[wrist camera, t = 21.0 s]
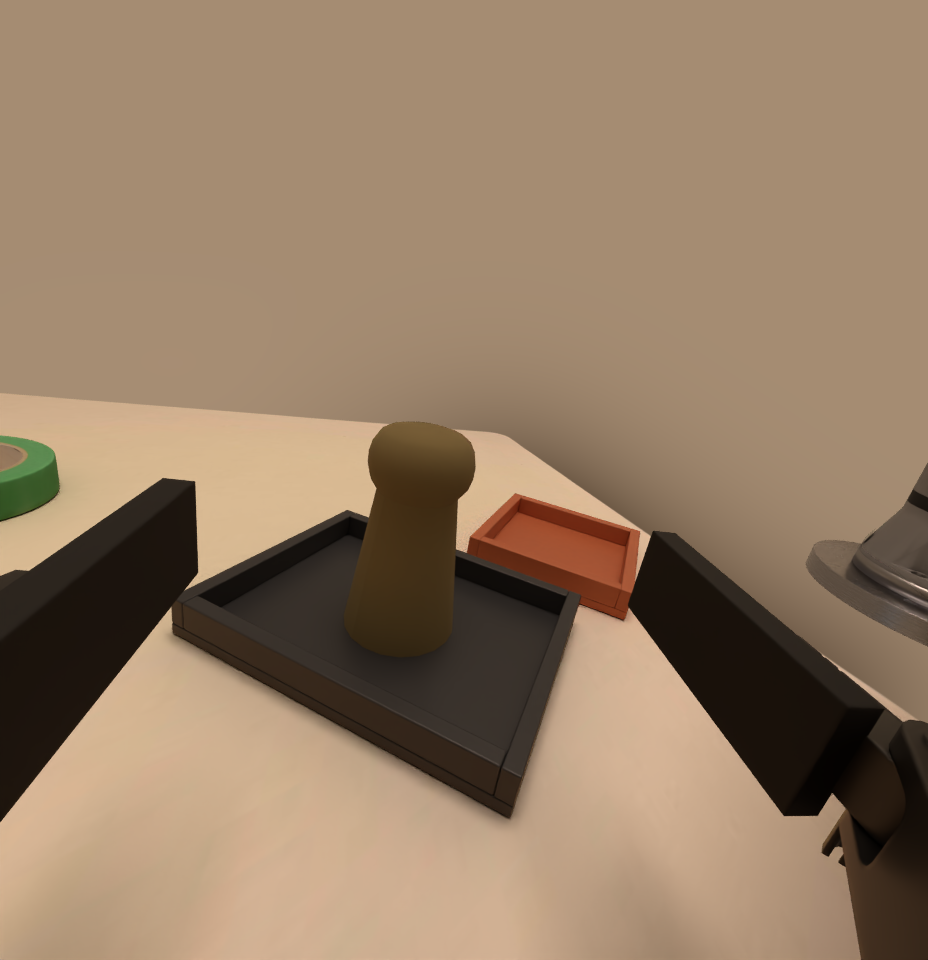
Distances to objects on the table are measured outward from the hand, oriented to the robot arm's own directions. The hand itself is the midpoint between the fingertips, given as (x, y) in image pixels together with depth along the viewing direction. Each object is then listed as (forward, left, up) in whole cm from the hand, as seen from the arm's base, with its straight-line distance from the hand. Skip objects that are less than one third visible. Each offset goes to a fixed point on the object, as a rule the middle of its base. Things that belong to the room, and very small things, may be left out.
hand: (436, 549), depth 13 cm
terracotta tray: (-1, -23, -10) cm, 25 cm away
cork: (+5, -8, -10) cm, 14 cm away
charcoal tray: (+5, -8, -10) cm, 14 cm away
